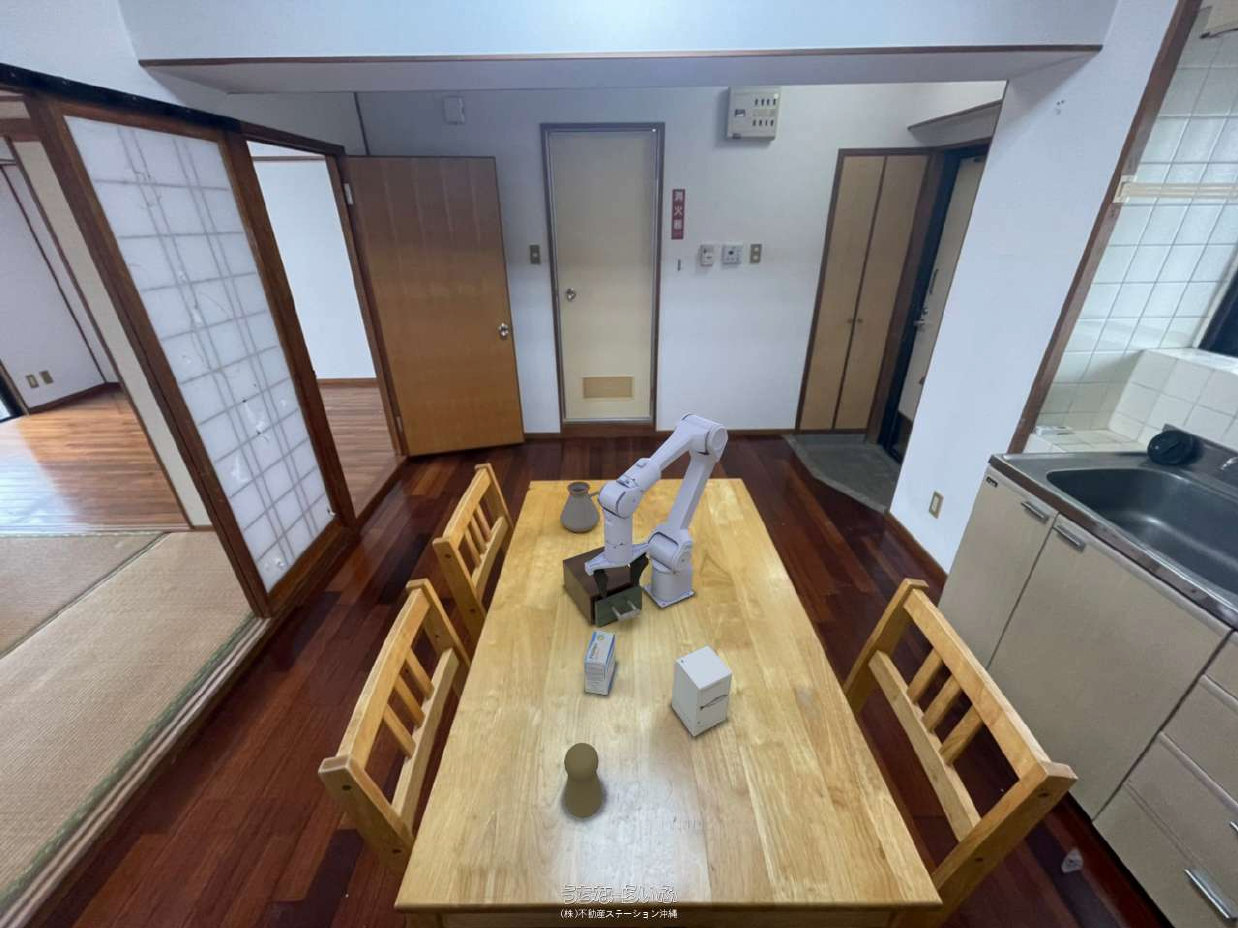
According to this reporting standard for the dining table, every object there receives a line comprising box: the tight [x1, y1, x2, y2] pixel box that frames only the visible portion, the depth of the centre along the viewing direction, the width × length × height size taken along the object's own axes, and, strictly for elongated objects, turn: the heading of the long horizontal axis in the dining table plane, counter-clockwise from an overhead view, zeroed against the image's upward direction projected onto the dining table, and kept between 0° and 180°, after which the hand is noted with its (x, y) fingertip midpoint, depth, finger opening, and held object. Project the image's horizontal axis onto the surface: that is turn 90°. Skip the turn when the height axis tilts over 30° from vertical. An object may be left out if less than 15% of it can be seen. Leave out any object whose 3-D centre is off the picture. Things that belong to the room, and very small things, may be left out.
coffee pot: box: [559, 480, 601, 534], centre depth 147 cm, size 21×12×15 cm, turn 92°
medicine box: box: [583, 630, 616, 696], centre depth 101 cm, size 8×4×9 cm, turn 168°
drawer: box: [593, 583, 643, 628], centre depth 118 cm, size 18×11×6 cm, turn 29°
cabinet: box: [562, 545, 640, 625], centre depth 122 cm, size 15×13×8 cm
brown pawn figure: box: [563, 742, 604, 819], centre depth 80 cm, size 6×6×11 cm
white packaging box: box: [671, 644, 733, 737], centre depth 92 cm, size 7×7×13 cm
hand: (618, 589), depth 110 cm, fingers open, 7 cm apart
